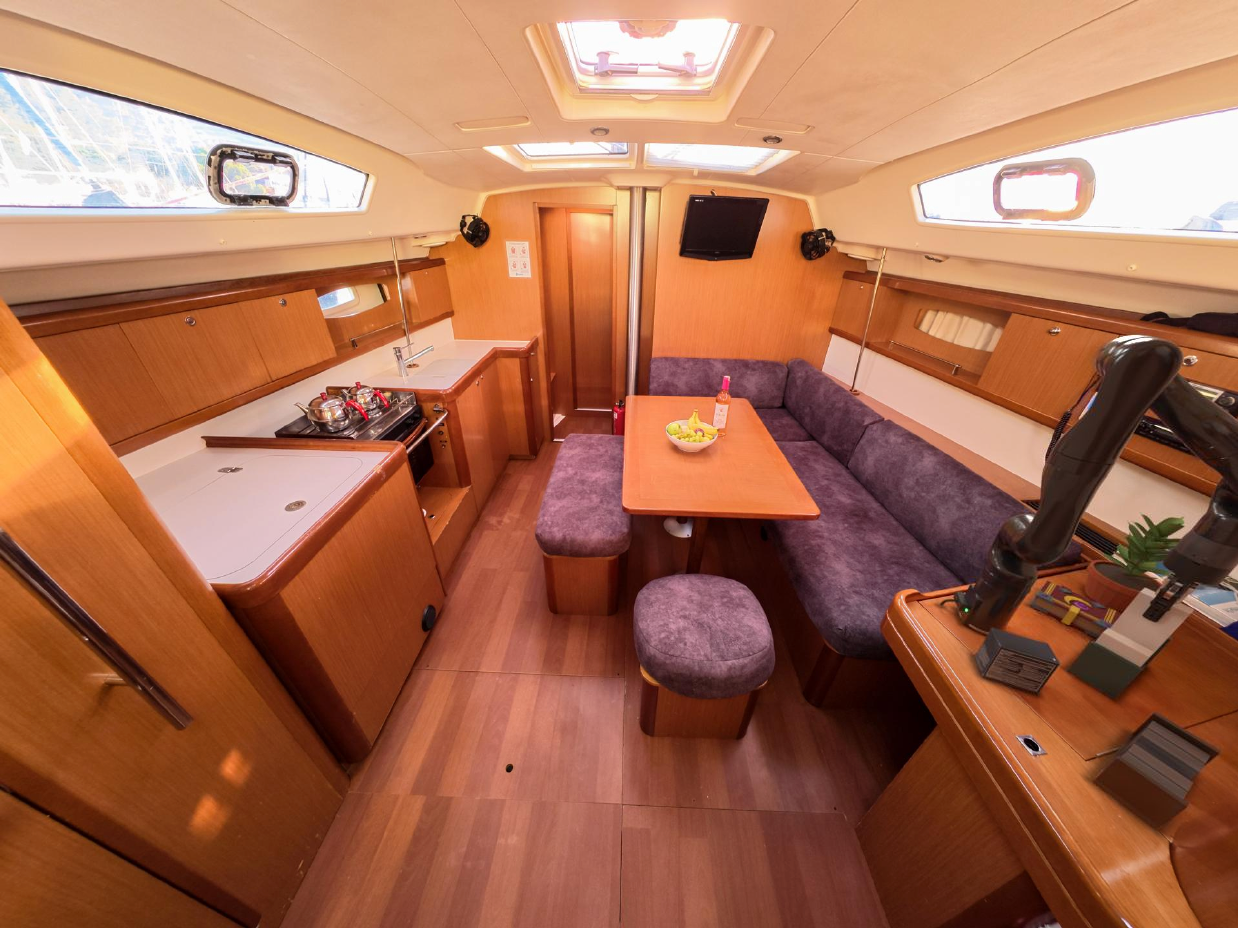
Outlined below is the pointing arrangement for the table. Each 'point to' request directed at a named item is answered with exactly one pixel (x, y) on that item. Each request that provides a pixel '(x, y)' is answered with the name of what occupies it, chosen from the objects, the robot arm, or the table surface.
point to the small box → (1016, 661)
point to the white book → (1144, 629)
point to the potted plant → (1132, 564)
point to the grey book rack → (1155, 769)
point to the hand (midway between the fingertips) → (1152, 616)
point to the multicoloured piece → (1112, 662)
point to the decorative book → (1075, 609)
